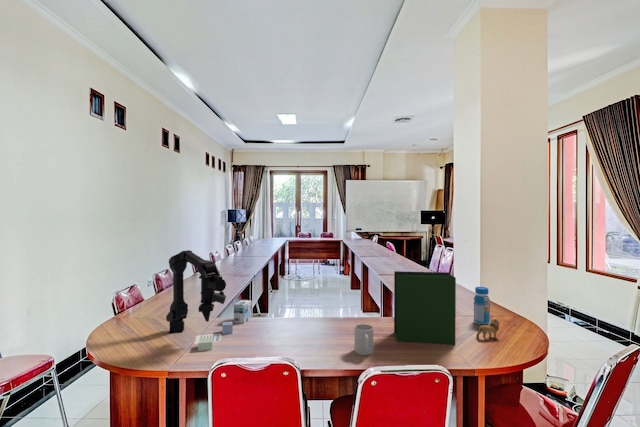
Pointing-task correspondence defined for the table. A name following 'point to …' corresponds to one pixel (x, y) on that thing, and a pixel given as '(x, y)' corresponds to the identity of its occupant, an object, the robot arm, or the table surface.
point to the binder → (424, 307)
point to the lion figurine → (489, 329)
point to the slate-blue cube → (227, 328)
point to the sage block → (205, 344)
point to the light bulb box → (242, 311)
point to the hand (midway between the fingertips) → (207, 321)
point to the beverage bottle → (481, 306)
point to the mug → (363, 339)
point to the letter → (215, 337)
